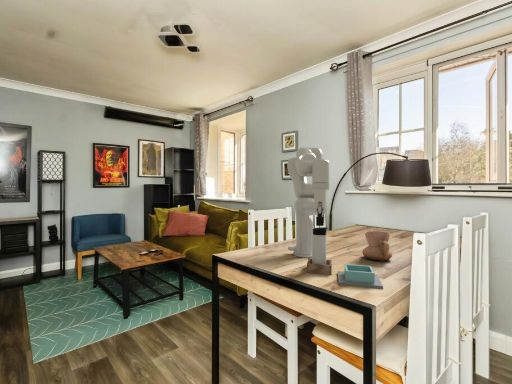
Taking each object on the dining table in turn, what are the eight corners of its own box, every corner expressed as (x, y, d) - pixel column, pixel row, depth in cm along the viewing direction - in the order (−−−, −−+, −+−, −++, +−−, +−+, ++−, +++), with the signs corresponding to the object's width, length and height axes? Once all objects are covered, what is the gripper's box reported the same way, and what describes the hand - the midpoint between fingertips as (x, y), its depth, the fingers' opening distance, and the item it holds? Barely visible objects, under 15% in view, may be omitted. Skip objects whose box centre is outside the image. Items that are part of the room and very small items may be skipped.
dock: (338, 284, 107) (339, 271, 107) (337, 273, 121) (337, 262, 121) (383, 288, 103) (383, 275, 103) (376, 276, 117) (377, 265, 116)
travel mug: (324, 273, 120) (324, 228, 120) (310, 271, 124) (310, 227, 123) (328, 269, 126) (329, 226, 125) (314, 267, 129) (315, 225, 129)
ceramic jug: (356, 254, 153) (356, 229, 152) (381, 254, 154) (381, 229, 153) (372, 265, 135) (373, 236, 134) (400, 264, 136) (401, 235, 135)
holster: (306, 272, 122) (306, 263, 121) (308, 266, 131) (308, 258, 131) (331, 274, 119) (331, 265, 119) (331, 268, 128) (331, 259, 128)
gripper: (313, 187, 133) (312, 222, 133) (310, 186, 116) (310, 226, 116) (329, 187, 131) (328, 222, 131) (329, 186, 114) (328, 227, 114)
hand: (320, 224), depth 124 cm, fingers open, 9 cm apart
